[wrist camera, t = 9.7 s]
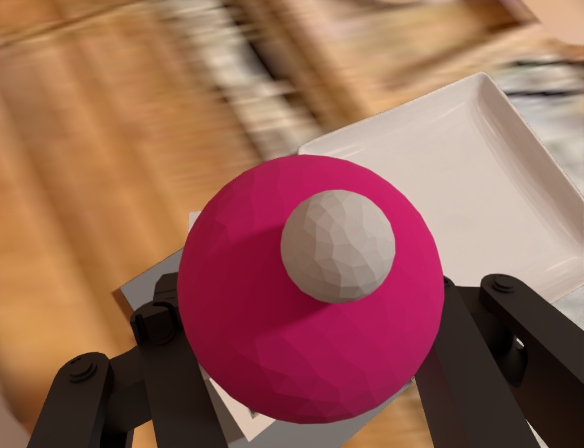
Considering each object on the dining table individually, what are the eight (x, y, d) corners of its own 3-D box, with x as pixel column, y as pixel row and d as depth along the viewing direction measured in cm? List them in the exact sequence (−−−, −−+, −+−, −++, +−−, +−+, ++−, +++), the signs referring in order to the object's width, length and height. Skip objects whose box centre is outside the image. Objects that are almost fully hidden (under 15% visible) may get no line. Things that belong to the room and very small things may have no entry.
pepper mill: (189, 331, 24) (-60, 242, 5) (270, 246, 26) (319, -47, 7) (278, 417, 23) (406, 738, 4) (354, 322, 25) (682, 219, 6)
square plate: (603, 264, 46) (634, 256, 42) (412, 381, 40) (428, 384, 36) (472, 84, 52) (489, 64, 48) (289, 161, 46) (293, 144, 42)
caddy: (270, 196, 44) (272, 181, 40) (409, 382, 39) (425, 385, 35) (123, 289, 39) (109, 282, 35) (260, 513, 34) (261, 533, 31)
